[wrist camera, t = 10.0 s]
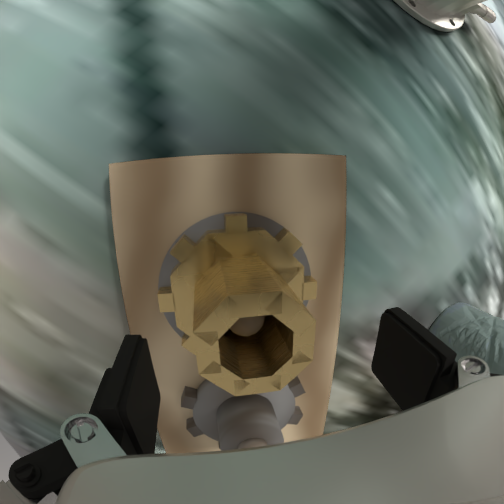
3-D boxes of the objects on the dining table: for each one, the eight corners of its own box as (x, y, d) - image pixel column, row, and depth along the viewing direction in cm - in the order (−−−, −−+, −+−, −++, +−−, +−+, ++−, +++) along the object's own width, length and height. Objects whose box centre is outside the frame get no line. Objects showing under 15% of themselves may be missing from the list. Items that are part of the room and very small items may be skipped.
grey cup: (403, 344, 25) (483, 416, 14) (467, 274, 25) (554, 316, 13) (429, 387, 28) (487, 447, 16) (482, 328, 28) (547, 371, 16)
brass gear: (311, 210, 19) (369, 229, 12) (307, 345, 21) (345, 407, 14) (152, 218, 17) (123, 244, 10) (171, 359, 19) (164, 431, 13)
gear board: (336, 156, 20) (396, 150, 13) (317, 425, 26) (343, 477, 19) (115, 164, 17) (70, 159, 10) (167, 443, 24) (165, 502, 17)
